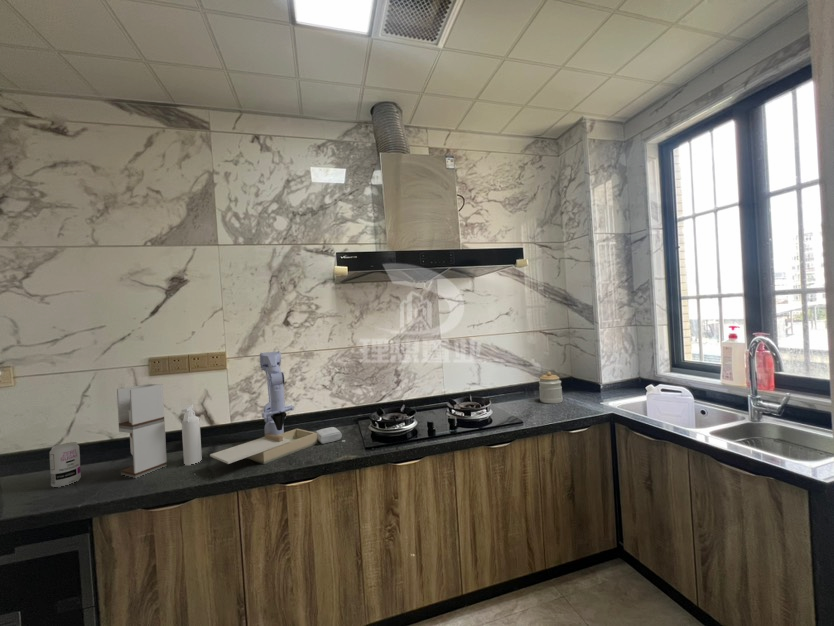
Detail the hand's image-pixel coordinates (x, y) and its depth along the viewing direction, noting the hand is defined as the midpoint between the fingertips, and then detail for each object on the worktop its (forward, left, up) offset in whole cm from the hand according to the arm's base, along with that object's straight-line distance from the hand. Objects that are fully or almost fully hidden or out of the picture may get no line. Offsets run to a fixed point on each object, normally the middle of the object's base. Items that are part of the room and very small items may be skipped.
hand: (279, 429), depth 156 cm
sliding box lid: (0, -13, -4) cm, 14 cm away
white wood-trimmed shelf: (-34, -41, -10) cm, 54 cm away
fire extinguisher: (-25, -26, -10) cm, 37 cm away
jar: (+82, +128, -10) cm, 152 cm away
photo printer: (+14, +18, -7) cm, 24 cm away
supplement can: (-50, -62, -10) cm, 80 cm away
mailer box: (0, +1, -9) cm, 9 cm away
